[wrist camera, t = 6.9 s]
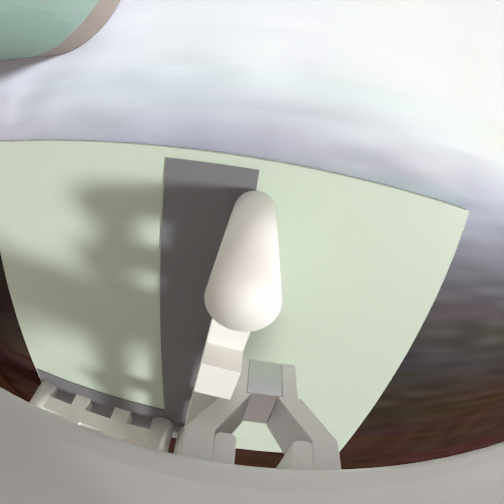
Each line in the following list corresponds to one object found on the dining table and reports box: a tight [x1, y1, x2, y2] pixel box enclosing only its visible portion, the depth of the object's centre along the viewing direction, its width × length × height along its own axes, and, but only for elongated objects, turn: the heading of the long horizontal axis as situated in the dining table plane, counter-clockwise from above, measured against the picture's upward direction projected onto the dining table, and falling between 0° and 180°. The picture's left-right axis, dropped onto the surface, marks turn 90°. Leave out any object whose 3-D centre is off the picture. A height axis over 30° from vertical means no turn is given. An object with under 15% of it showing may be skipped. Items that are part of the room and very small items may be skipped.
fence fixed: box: [29, 380, 174, 452], centre depth 16 cm, size 11×2×6 cm, turn 81°
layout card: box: [0, 140, 470, 452], centre depth 16 cm, size 20×24×1 cm
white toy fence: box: [173, 191, 282, 455], centre depth 13 cm, size 18×2×6 cm, turn 164°
